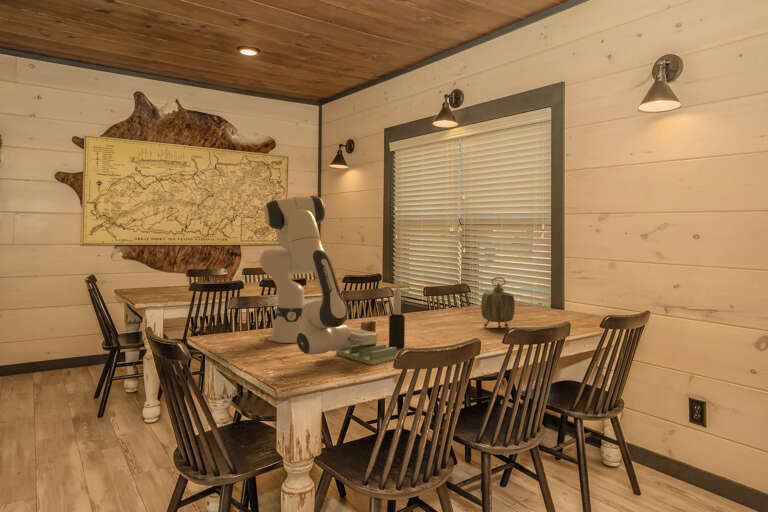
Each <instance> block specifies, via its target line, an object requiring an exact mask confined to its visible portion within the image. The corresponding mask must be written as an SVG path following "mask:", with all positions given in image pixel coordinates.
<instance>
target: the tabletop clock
mask: <svg viewBox="0 0 768 512" xmlns="http://www.w3.org/2000/svg"><path fill="white" fill-rule="evenodd" d="M496 279H497V280H502V281H504V283H502V284H500V283H499V282H497V284H496V283H494V280H496ZM491 280H492V281H491V284H492V285H493V286H495V287H494V288H493V289H492V290H491V291H490V290H489V291H485V292H483V293H482V297H481V304H480V308H481V311H480V313H481V315H482V318H483V319H484V320H487V321H486V323H484V324H483V327H484V326H487V327H488V324H489V323H490V322H491V323H498V325H497V329H498V328H501V329H502V326H501V323H504V327H505V326H507V327H508V326H509V324H508V322H511V321H513V319H514V316H515V309H516V306H515V305H516V304H515V297H514V295H513V294H511V293H510V292H505V291H504V288H503V287H502V286H504V285H505V284H506V280H505V278H504V277H501V276H499V277H494V278H493V279H491Z"/></svg>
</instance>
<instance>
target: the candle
mask: <svg viewBox="0 0 768 512" xmlns="http://www.w3.org/2000/svg"><path fill="white" fill-rule="evenodd" d="M401 309H402V293H401V292H400V289H399V285H398V284H397V285H396V288H395V291H394V292H393V313H391V314H390V315H388V316H389V317H388V348H389V347H397V348H400V349H402V348H401V347H404V348H405V334H406V330H405V328H406V326H405V325H406V324H405V322H406V321H405V320H406V319H405V318H406V317H405V315H404V314H403V313H401V311H402V310H401Z"/></svg>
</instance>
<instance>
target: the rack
mask: <svg viewBox="0 0 768 512" xmlns="http://www.w3.org/2000/svg"><path fill="white" fill-rule="evenodd" d="M335 352H336V353H335V354H336V355H338V356H342V357H345V358H347V357H348V359H350V358H351V359H350V360H354V359H355V360H354V361H357V360H358V361H357V362H360V361H361V362H360V363H363V362H364V364H368V365H370V364H371V365H370V366H373V365H372V364H374V365H378V364H381V362H382V363H385V361H387V362H390V361H389V360H391V361H394V360H393V359H395V357H396V355H397V354H398V349H397V347H392V348H389V347H388V348H387V344H383V343H382V344H378V345H377V343H375V346H373V347H367V348H362V349H361V345H357V344H354V343H351V344H350V346H349V347H348V348H347V349H343V350H338V351H335ZM395 360H396V359H395ZM377 363H378V364H377Z"/></svg>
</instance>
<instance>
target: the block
mask: <svg viewBox="0 0 768 512" xmlns="http://www.w3.org/2000/svg"><path fill="white" fill-rule="evenodd" d="M376 326H377V325H376V321H375V320H366V321H360V329H361V330H366V331H375V332H376ZM373 346H375V344H369V345H361V349H362V348H367V347H373Z"/></svg>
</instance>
